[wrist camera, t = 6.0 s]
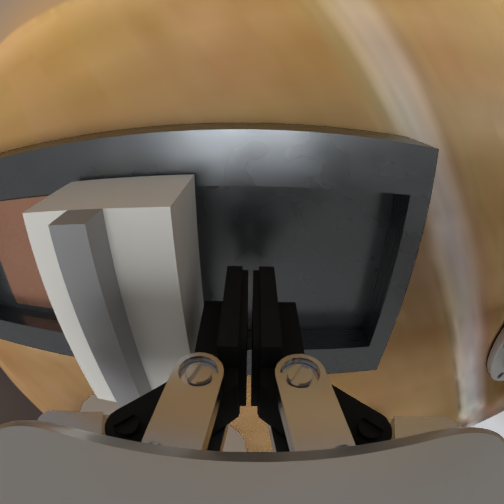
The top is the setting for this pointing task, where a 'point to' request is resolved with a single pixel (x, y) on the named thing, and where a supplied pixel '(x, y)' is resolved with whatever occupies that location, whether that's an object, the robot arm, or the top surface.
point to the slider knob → (122, 276)
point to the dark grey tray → (249, 222)
